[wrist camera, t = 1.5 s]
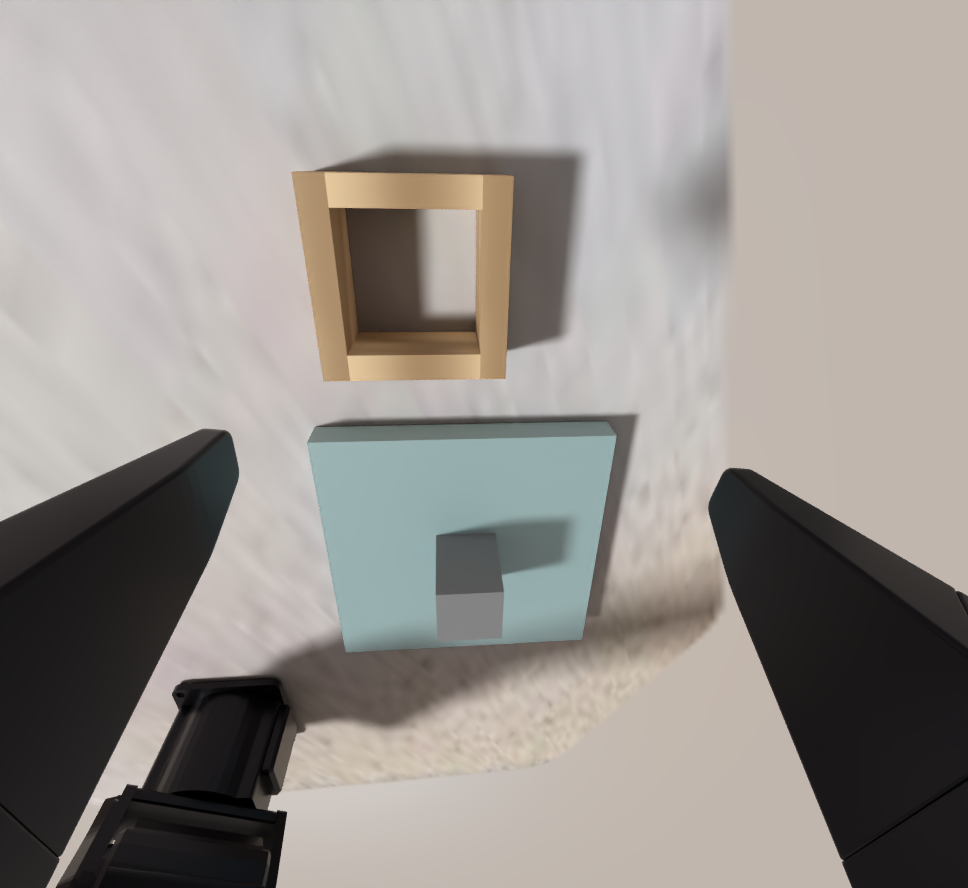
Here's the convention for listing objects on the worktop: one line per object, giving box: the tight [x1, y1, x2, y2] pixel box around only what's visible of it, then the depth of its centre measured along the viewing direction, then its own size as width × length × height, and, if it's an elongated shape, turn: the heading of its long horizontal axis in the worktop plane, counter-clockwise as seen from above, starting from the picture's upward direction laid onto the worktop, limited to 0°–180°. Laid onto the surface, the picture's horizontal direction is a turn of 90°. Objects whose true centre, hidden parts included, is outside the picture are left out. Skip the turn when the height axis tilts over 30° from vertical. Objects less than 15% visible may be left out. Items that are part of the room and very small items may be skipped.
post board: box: [307, 421, 617, 653], centre depth 25 cm, size 14×14×6 cm
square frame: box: [292, 171, 514, 381], centre depth 19 cm, size 7×7×3 cm
